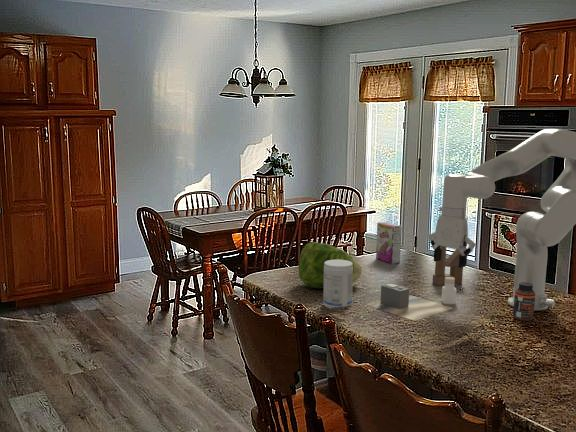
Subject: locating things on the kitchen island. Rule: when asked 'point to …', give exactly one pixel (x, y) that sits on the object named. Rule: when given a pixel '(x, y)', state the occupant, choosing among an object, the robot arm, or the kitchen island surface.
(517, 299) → the supplement bottle
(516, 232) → the robot arm
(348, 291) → the supplement tub
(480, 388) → the kitchen island surface
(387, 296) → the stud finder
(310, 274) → the lettuce
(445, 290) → the pepper shaker
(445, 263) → the wooden letter
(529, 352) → the kitchen island surface
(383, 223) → the candy bar box
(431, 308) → the plywood panel
